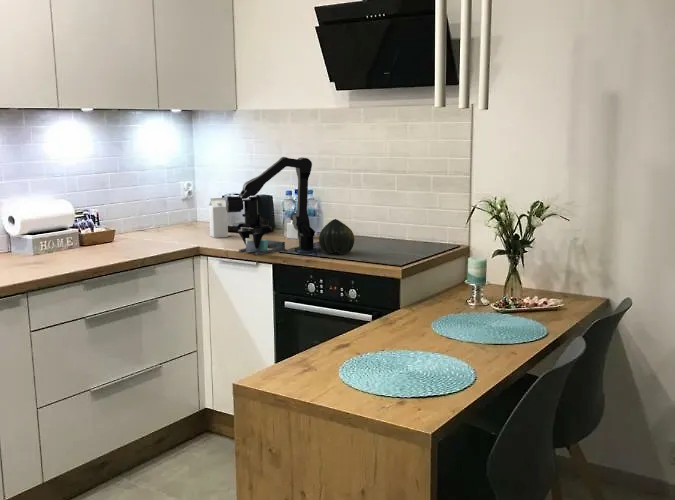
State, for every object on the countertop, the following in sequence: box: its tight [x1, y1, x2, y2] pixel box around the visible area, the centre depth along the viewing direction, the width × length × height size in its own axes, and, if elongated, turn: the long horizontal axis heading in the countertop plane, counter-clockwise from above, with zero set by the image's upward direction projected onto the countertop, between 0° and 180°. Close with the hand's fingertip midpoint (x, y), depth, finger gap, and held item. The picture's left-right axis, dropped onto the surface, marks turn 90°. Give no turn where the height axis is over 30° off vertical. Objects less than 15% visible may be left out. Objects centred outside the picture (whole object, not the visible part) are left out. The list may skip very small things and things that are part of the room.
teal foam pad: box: [258, 238, 269, 252], centre depth 319 cm, size 2×9×5 cm, turn 48°
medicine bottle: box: [286, 212, 300, 240], centre depth 355 cm, size 7×7×12 cm
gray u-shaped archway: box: [238, 238, 286, 256], centre depth 320 cm, size 16×12×4 cm
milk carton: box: [208, 197, 229, 239], centre depth 360 cm, size 7×7×19 cm
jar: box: [245, 236, 259, 253], centre depth 316 cm, size 6×6×5 cm
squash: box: [318, 218, 355, 255], centre depth 313 cm, size 14×15×15 cm
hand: (252, 247), depth 316 cm, fingers closed on jar, 6 cm apart
